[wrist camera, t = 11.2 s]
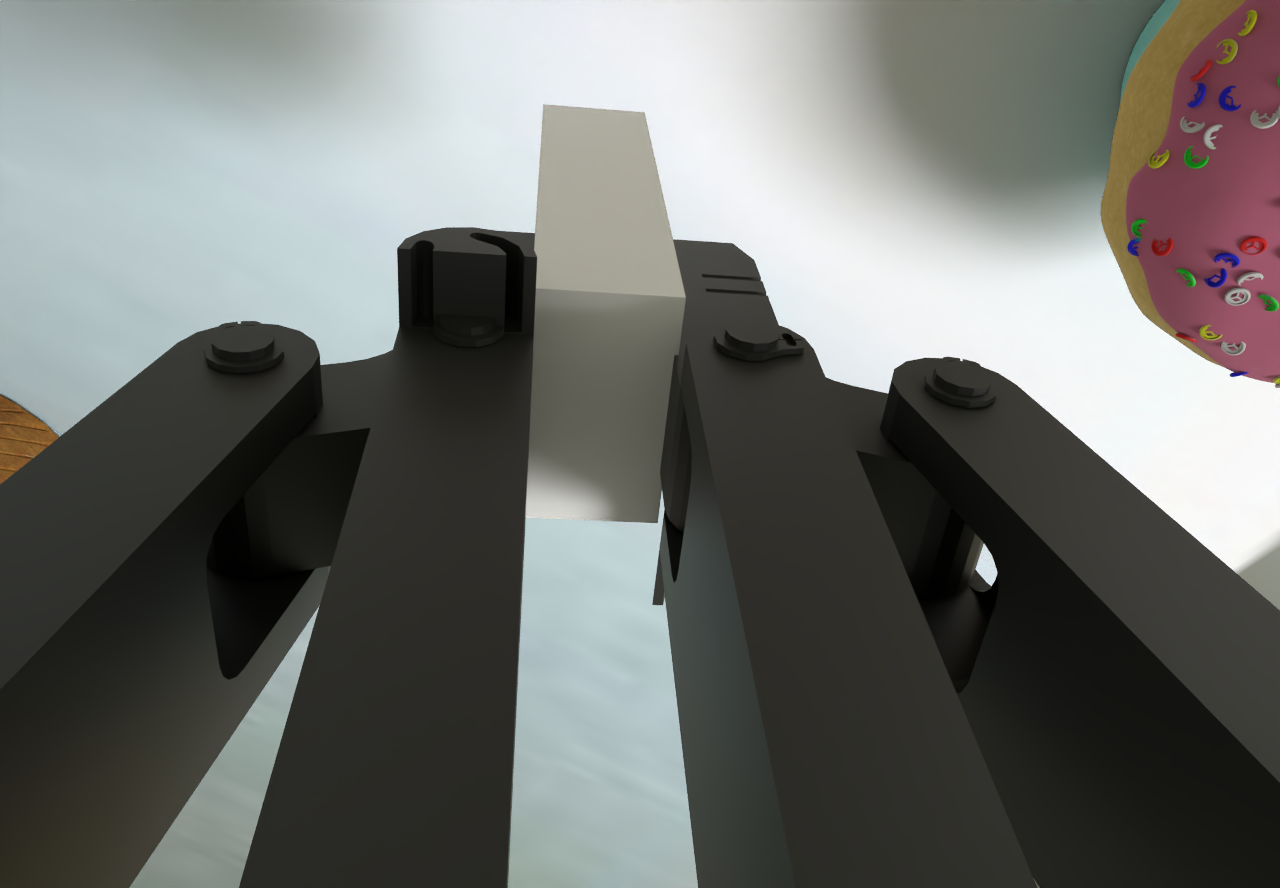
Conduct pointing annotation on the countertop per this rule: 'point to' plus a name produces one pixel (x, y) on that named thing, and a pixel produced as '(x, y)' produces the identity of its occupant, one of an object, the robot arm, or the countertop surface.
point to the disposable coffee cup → (20, 437)
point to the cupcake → (1203, 180)
